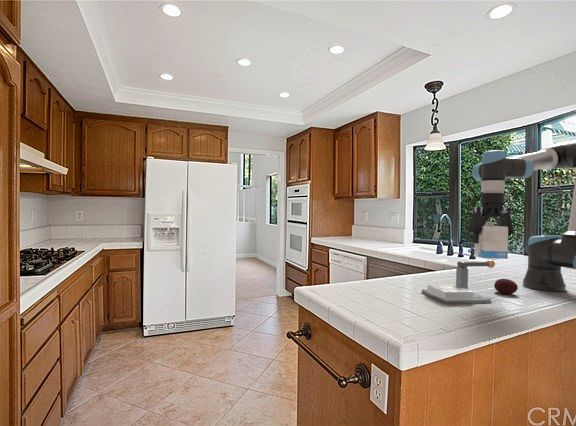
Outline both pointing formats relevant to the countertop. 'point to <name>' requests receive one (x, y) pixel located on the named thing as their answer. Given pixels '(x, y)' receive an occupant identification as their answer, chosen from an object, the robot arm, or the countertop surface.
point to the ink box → (494, 241)
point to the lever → (476, 264)
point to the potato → (505, 286)
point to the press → (455, 291)
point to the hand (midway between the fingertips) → (490, 252)
